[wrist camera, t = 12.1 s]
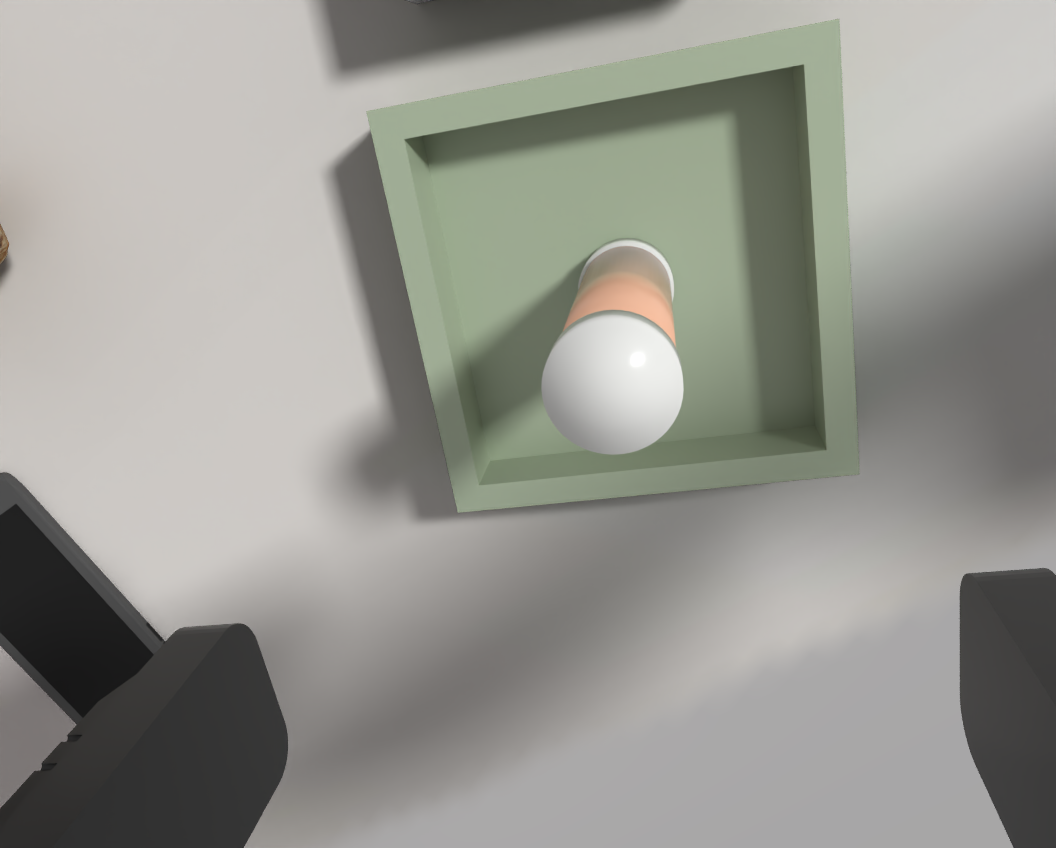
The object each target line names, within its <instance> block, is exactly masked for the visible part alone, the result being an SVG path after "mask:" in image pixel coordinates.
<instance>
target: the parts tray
mask: <svg viewBox="0 0 1056 848" xmlns="http://www.w3.org/2000/svg"><path fill="white" fill-rule="evenodd" d="M366 112H367V117H368V121H369V125H370V130H371V134H372V139H373V143H374V147H375V152H376V156H377V161H378V165H379V169H380V174H381V178H382V182H383V187H384V191H385V196H386V200H387V204H388V209H389V213H390V218H391V222H392V226H393V231H394V235H395V240H396V244H397V248H398V253H399V257H400V261H401V266H402V270H403V275H404V279H405V283H406V288H407V292H408V297H409V301H410V305H411V310H412V314H413V318H414V323H415V327H416V332H417V336H418V340H419V345H420V349H421V354H422V358H423V362H424V367H425V371H426V376H427V380H428V384H429V389H430V393H431V397H432V402H433V406H434V411H435V415H436V419H437V424H438V428H439V433H440V437H441V441H442V446H443V450H444V454H445V459H446V463H447V468H448V472H449V476H450V481H451V485H452V490H453V494H454V498H455V503H456V507H457V512H458V513H461V512H471V511H482V510H492V509H503V508H513V507H524V506H534V505H545V504H555V503H565V502H576V501H586V500H597V499H607V498H618V497H628V496H639V495H649V494H659V493H670V492H680V491H691V490H701V489H712V488H722V487H732V486H743V485H753V484H764V483H774V482H785V481H795V480H806V479H816V478H826V477H837V476H847V475H858V474H859V452H858V429H857V407H856V384H855V362H854V339H853V317H852V294H851V272H850V249H849V227H848V204H847V182H846V159H845V137H844V114H843V92H842V69H841V47H840V24H839V19H835V20H830V21H825V22H820V23H815V24H810V25H805V26H800V27H795V28H789V29H784V30H779V31H774V32H769V33H764V34H759V35H754V36H749V37H743V38H738V39H733V40H728V41H723V42H718V43H713V44H708V45H703V46H698V47H692V48H687V49H682V50H677V51H672V52H667V53H662V54H657V55H652V56H646V57H641V58H636V59H631V60H626V61H621V62H616V63H611V64H606V65H600V66H595V67H590V68H585V69H580V70H575V71H570V72H565V73H560V74H554V75H549V76H544V77H539V78H534V79H529V80H524V81H519V82H514V83H508V84H503V85H498V86H493V87H488V88H483V89H478V90H473V91H468V92H463V93H457V94H452V95H447V96H442V97H437V98H432V99H427V100H422V101H417V102H411V103H406V104H401V105H396V106H391V107H386V108H381V109H376V110H371V111H366ZM619 238H635V239H640V240H643V241H646V242H648V243H650V244H652V245H653V246H655V247H656V248H657V249H658V250H660V251H661V253H662V254H663V255H664V256H665V258H666V259H667V261H668V263H669V265H670V267H671V270H672V274H673V281H674V297H673V302H672V306H673V318H674V331H675V343H676V349H677V351H678V354H679V357H680V360H681V366H682V374H683V388H684V391H683V400H682V404H681V408H680V410H679V413H678V415H677V417H676V419H675V421H674V423H673V424H672V425H671V427H670V428H669V429H668V431H667V432H666V433H665V434H664V435H663V436H662V437H660V438H659V439H658V440H657V441H655V442H654V443H652V444H651V445H649V446H647V447H645V448H643V449H640V450H638V451H634V452H631V453H626V454H615V455H610V454H601V453H596V452H592V451H589V450H586V449H584V448H582V447H579V446H577V445H576V444H574V443H573V442H571V441H570V440H568V439H567V438H566V437H565V436H563V435H562V434H561V433H560V432H559V431H558V430H557V428H556V427H555V426H554V424H553V423H552V421H551V420H550V418H549V416H548V414H547V412H546V409H545V407H544V403H543V399H542V390H541V386H542V376H543V371H544V368H545V365H546V362H547V359H548V357H549V354H550V352H551V349H552V347H553V345H554V343H555V342H556V340H557V339H558V337H559V336H560V335H561V333H562V332H563V329H564V326H565V324H566V321H567V318H568V316H569V313H570V310H571V308H572V305H573V302H574V300H575V297H576V294H577V292H578V284H579V279H580V276H581V273H582V270H583V268H584V265H585V263H586V261H587V260H588V258H589V257H590V256H591V254H592V253H593V252H594V251H595V250H596V249H597V248H599V247H600V246H602V245H603V244H605V243H607V242H609V241H612V240H615V239H619Z"/></svg>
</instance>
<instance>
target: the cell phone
mask: <svg viewBox="0 0 1056 848" xmlns="http://www.w3.org/2000/svg"><path fill="white" fill-rule="evenodd" d="M164 643H165V641H164V640H163V639H162V638H161V637H160V635H159V634H158V633H157V632H156V631H155V630H154V629H153V628H152V627H151V625H150V624H149V623H148V622H147V621H146V620H145V619H144V618H143V617H142V616H141V614H140V613H139V612H138V611H137V610H136V609H135V608H134V607H133V606H132V604H131V603H130V602H129V601H128V600H127V599H126V598H125V597H124V596H123V595H122V593H121V592H120V591H119V590H118V589H117V588H116V587H115V586H114V585H113V584H112V582H111V581H110V580H109V579H108V578H107V577H106V576H105V575H104V574H103V572H102V571H101V570H100V569H99V568H98V567H97V566H96V565H95V564H94V563H93V561H92V560H91V559H90V558H89V557H88V556H87V555H86V554H85V553H84V551H83V550H82V549H81V548H80V547H79V546H78V545H77V544H76V543H75V542H74V540H73V539H72V538H71V537H70V536H69V535H68V534H67V533H66V532H65V531H64V529H63V528H62V527H61V526H60V525H59V524H58V523H57V522H56V521H55V519H54V518H53V517H52V516H51V515H50V514H49V513H48V512H47V511H46V510H45V508H44V507H43V506H42V505H41V504H40V503H39V502H38V501H37V500H36V499H35V497H34V496H33V495H32V494H31V493H30V492H29V491H28V490H27V489H26V488H25V487H24V486H23V485H22V483H20V482H19V481H18V480H17V479H16V478H15V477H13V476H12V475H11V474H9V473H5V472H3V473H0V646H1V647H2V648H3V649H4V650H5V651H6V652H7V653H8V654H9V655H10V656H11V657H12V658H13V659H14V660H15V661H16V662H17V663H18V664H19V665H20V666H21V667H22V668H23V669H24V671H25V672H26V673H27V674H28V675H29V676H30V677H31V678H32V679H33V680H34V681H35V682H36V683H37V684H38V685H39V686H40V687H41V688H42V689H43V690H44V691H45V692H46V693H47V694H48V695H49V696H50V697H51V698H52V699H53V700H54V701H55V702H56V704H57V705H58V706H59V707H60V708H61V709H62V710H63V711H64V712H65V713H66V714H67V715H68V716H69V717H70V718H71V719H72V720H73V721H74V722H75V723H76V724H78V723H79V722H80V721H81V720H82V719H83V718H84V717H85V715H86V714H87V713H88V712H89V711H90V710H91V709H92V708H93V707H94V706H95V705H96V703H97V702H98V701H100V700H101V699H102V698H104V697H105V696H107V695H108V694H109V693H111V692H112V691H114V690H115V689H116V688H118V687H119V686H121V685H122V684H123V683H125V682H126V681H128V680H129V679H130V678H132V677H133V676H135V675H136V674H137V673H138V672H139V671H140V670H141V669H142V668H143V667H144V666H145V664H146V663H147V662H148V661H149V660H150V659H151V658H152V657H153V655H154V654H155V653H156V652H157V651H158V650H159V649H160V648H161V646H162V645H163V644H164Z"/></svg>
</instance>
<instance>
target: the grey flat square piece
mask: <svg viewBox="0 0 1056 848" xmlns="http://www.w3.org/2000/svg"><path fill="white" fill-rule="evenodd" d="M406 1H409V2H412V3H415V4H419V3H423V2H428V1H432V0H406Z"/></svg>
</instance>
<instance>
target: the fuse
mask: <svg viewBox="0 0 1056 848" xmlns="http://www.w3.org/2000/svg"><path fill="white" fill-rule="evenodd" d="M673 297H674V281H673V274H672V270H671V267H670V265H669V263H668V261H667V259H666V258H665V256H664V255H663V254H662V253H661V251H660V250H658V249H657V248H656V247H655V246H653V245H652V244H650V243H648V242H646V241H643V240H640V239H635V238H619V239H615V240H612V241H609V242H607V243H605V244H603V245H602V246H600V247H599V248H597V249H596V250H595V251H594V252H593V253H592V254H591V256H590V257H589V258H588V260H587V261H586V263H585V265H584V268H583V270H582V273H581V276H580V279H579V284H578V292H577V294H576V297H575V300H574V302H573V305H572V308H571V310H570V313H569V316H568V318H567V321H566V324H565V326H564V329H563V332H562V333H561V335H560V336H559V337H558V339H557V340H556V342H555V343H554V345H553V347H552V349H551V352H550V354H549V357H548V359H547V362H546V365H545V368H544V371H543V376H542V386H541V390H542V399H543V403H544V407H545V409H546V412H547V414H548V416H549V418H550V420H551V421H552V423H553V424H554V426H555V427H556V428H557V430H558V431H559V432H560V433H561V434H562V435H563V436H565V437H566V438H567V439H568V440H570V441H571V442H573V443H574V444H576V445H577V446H579V447H582V448H584V449H586V450H589V451H592V452H596V453H601V454H610V455H615V454H626V453H631V452H634V451H638V450H640V449H643V448H645V447H647V446H649V445H651V444H652V443H654V442H655V441H657V440H658V439H659V438H660V437H662V436H663V435H664V434H665V433H666V432H667V431H668V429H669V428H670V427H671V425H672V424H673V423H674V421H675V419H676V417H677V415H678V413H679V410H680V408H681V404H682V400H683V391H684V388H683V374H682V366H681V360H680V357H679V354H678V351H677V349H676V343H675V331H674V318H673V306H672V302H673Z"/></svg>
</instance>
